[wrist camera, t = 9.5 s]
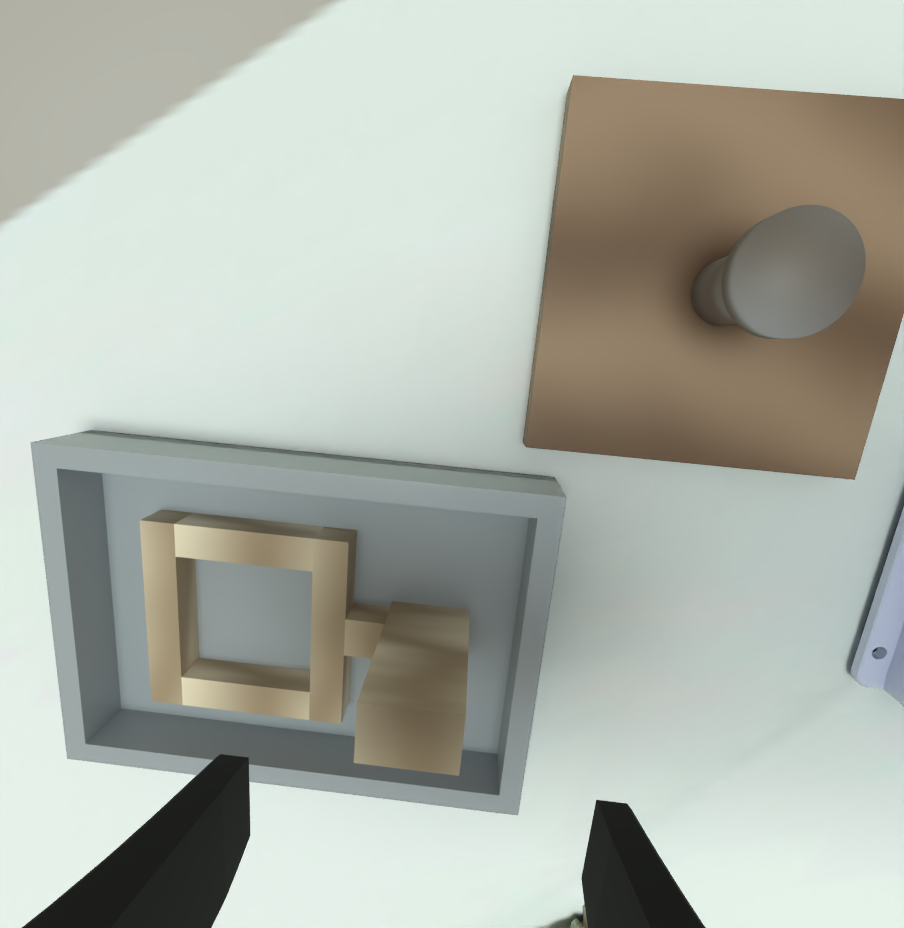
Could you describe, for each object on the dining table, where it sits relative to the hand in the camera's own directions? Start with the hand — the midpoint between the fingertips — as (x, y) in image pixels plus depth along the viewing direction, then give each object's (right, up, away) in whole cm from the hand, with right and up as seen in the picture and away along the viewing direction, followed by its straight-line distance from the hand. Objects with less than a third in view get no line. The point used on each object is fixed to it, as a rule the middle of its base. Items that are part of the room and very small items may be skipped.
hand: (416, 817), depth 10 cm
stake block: (+9, +13, +6) cm, 17 cm away
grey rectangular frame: (-5, +2, +10) cm, 11 cm away
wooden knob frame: (-5, +1, +9) cm, 10 cm away
